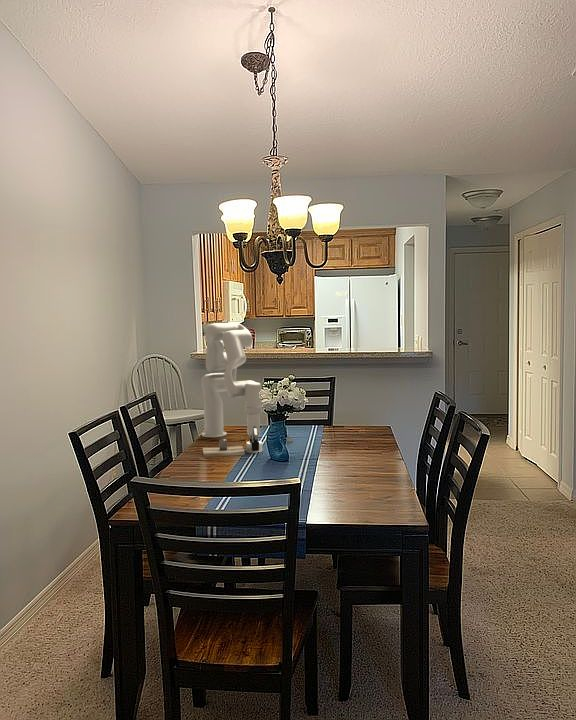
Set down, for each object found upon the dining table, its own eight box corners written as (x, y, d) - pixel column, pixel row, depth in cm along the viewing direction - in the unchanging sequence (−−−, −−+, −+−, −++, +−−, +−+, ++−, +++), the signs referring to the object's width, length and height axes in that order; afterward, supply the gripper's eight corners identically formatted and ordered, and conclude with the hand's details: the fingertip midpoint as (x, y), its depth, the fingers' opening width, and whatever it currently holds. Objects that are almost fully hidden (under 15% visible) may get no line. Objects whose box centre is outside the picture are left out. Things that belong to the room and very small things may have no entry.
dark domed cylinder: (219, 449, 295) (219, 439, 294) (226, 448, 295) (226, 438, 295) (219, 450, 291) (219, 440, 291) (227, 450, 292) (227, 440, 291)
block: (202, 451, 298) (202, 448, 298) (242, 449, 301) (242, 445, 300) (203, 457, 286) (203, 453, 286) (244, 454, 289) (244, 451, 289)
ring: (246, 450, 298) (245, 441, 298) (261, 449, 300) (261, 440, 299) (247, 453, 291) (247, 444, 291) (263, 452, 293) (263, 443, 292)
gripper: (243, 407, 302) (244, 445, 303) (247, 413, 285) (248, 453, 286) (259, 406, 303) (260, 444, 305) (264, 412, 286) (265, 452, 287)
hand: (254, 448), depth 295 cm, fingers closed on ring, 7 cm apart
